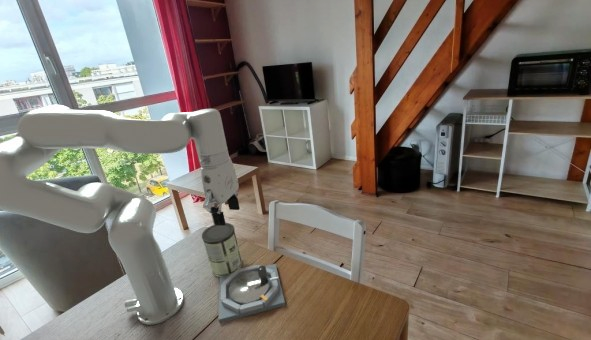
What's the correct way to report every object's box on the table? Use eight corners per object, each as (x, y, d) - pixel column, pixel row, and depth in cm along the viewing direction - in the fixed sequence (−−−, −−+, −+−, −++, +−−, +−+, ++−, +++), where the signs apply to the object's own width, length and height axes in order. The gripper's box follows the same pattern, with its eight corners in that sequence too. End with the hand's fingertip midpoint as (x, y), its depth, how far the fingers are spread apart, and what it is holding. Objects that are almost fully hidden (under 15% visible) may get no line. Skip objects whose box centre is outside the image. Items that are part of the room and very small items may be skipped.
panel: (219, 322, 79) (217, 314, 78) (220, 280, 94) (218, 272, 93) (285, 305, 82) (283, 297, 80) (276, 266, 97) (274, 259, 96)
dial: (229, 309, 81) (225, 292, 79) (229, 279, 92) (225, 263, 89) (272, 298, 83) (269, 281, 80) (267, 270, 94) (264, 254, 91)
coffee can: (217, 257, 105) (208, 223, 100) (245, 256, 104) (238, 221, 98) (206, 277, 96) (196, 241, 90) (237, 277, 94) (228, 240, 89)
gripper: (207, 171, 68) (223, 236, 74) (242, 146, 83) (252, 202, 89) (180, 171, 70) (198, 233, 77) (219, 147, 85) (231, 201, 92)
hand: (227, 216), depth 83 cm, fingers open, 7 cm apart
